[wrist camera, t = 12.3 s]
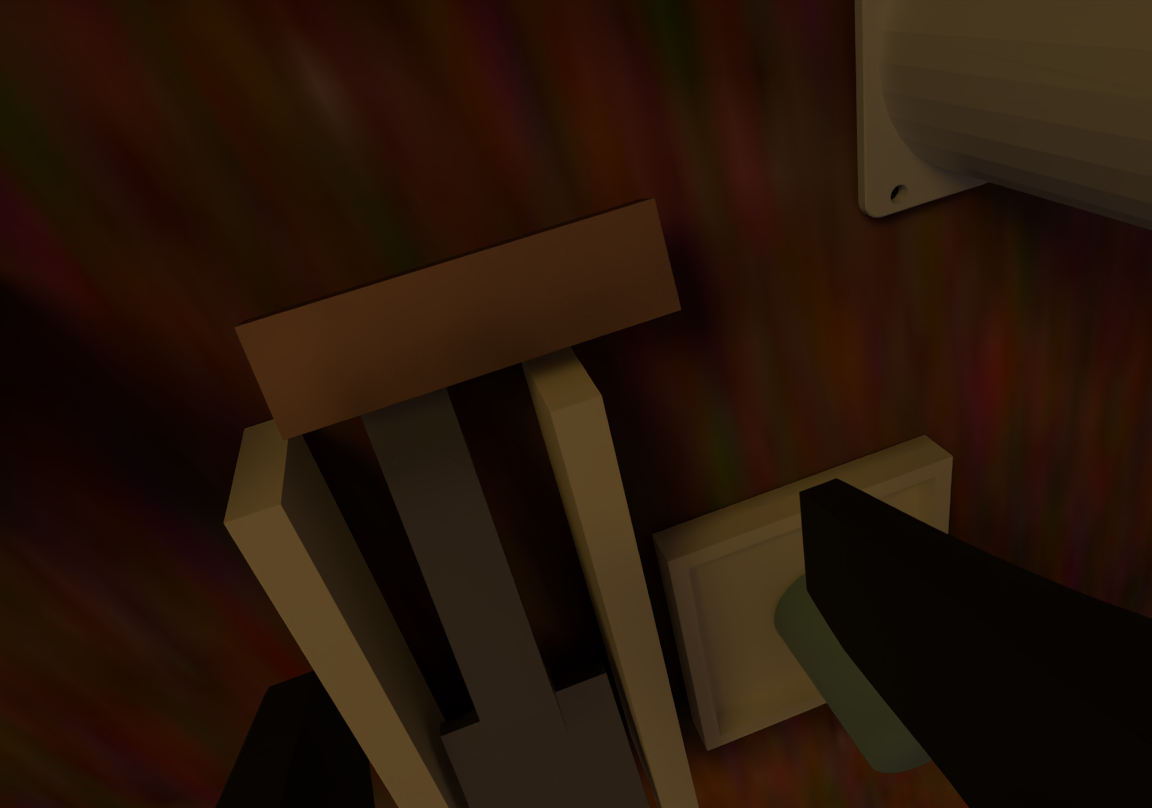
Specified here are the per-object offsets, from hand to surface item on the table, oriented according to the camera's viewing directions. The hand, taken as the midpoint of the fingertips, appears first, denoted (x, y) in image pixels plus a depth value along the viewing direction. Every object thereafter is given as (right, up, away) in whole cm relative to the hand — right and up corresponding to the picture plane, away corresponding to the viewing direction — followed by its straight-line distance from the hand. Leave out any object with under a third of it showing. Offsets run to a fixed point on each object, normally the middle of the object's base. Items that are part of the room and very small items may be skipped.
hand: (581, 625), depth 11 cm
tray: (+8, -4, +17) cm, 19 cm away
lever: (-1, -2, +11) cm, 12 cm away
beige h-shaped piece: (-3, -3, +13) cm, 14 cm away
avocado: (+9, -4, +17) cm, 19 cm away
